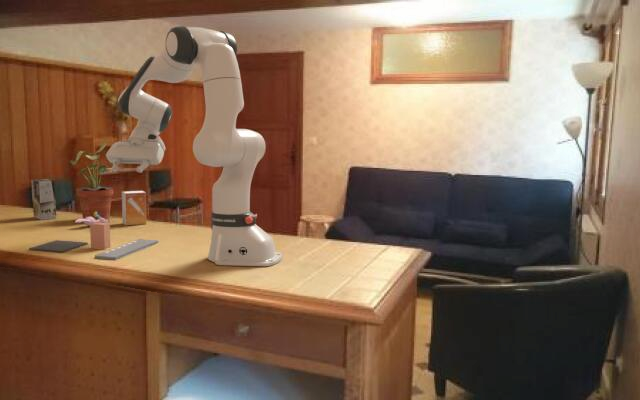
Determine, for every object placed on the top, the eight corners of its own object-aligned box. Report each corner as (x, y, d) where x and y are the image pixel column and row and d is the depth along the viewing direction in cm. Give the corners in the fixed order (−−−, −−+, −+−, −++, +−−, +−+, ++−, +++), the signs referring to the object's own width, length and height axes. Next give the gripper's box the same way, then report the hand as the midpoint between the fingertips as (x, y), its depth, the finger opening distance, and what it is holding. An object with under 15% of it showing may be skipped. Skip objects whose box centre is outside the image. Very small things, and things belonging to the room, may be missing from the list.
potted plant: (93, 215, 223) (90, 134, 218) (122, 218, 218) (119, 135, 213) (65, 221, 209) (60, 135, 204) (94, 224, 204) (90, 135, 199)
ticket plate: (158, 242, 174) (158, 240, 174) (115, 259, 151) (115, 256, 151) (139, 241, 176) (139, 238, 176) (94, 258, 153) (94, 255, 153)
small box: (126, 225, 202) (125, 193, 201) (122, 223, 208) (121, 191, 206) (147, 224, 207) (146, 192, 205) (142, 221, 212) (142, 190, 210)
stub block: (110, 247, 167) (109, 223, 166) (104, 249, 164) (103, 224, 163) (96, 246, 168) (95, 222, 167) (91, 248, 165) (89, 223, 164)
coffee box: (57, 218, 215) (55, 180, 213) (40, 220, 211) (38, 181, 208) (49, 215, 222) (47, 178, 219) (33, 217, 217) (30, 179, 215)
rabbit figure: (100, 225, 208) (70, 226, 195) (102, 211, 209) (71, 210, 195) (112, 227, 206) (82, 227, 192) (113, 212, 206) (83, 211, 192)
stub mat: (87, 244, 170) (87, 242, 170) (62, 252, 159) (62, 250, 158) (56, 241, 173) (56, 240, 173) (29, 250, 161) (29, 248, 161)
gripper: (112, 135, 185) (95, 163, 177) (163, 136, 181) (149, 166, 173) (119, 146, 190) (104, 175, 182) (170, 148, 186) (156, 178, 178)
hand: (126, 170), depth 178 cm, fingers open, 8 cm apart
